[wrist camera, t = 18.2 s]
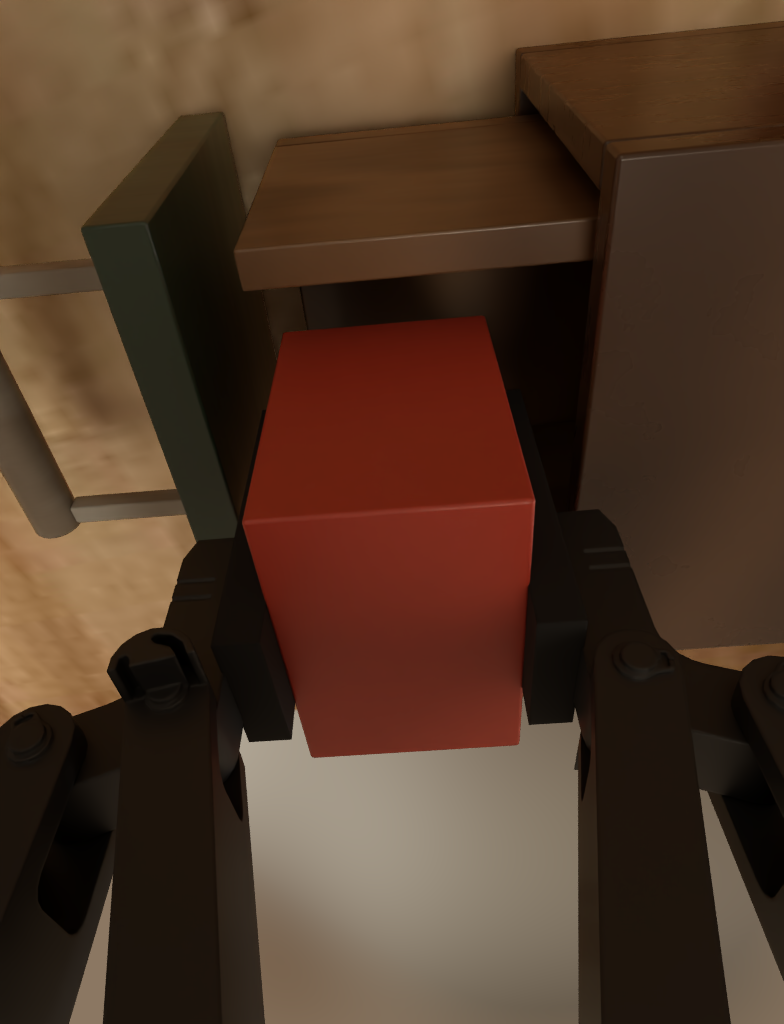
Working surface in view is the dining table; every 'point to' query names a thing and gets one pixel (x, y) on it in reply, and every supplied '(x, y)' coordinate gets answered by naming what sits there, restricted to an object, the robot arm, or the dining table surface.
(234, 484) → the drawer
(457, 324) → the red block
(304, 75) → the dining table surface
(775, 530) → the cabinet
